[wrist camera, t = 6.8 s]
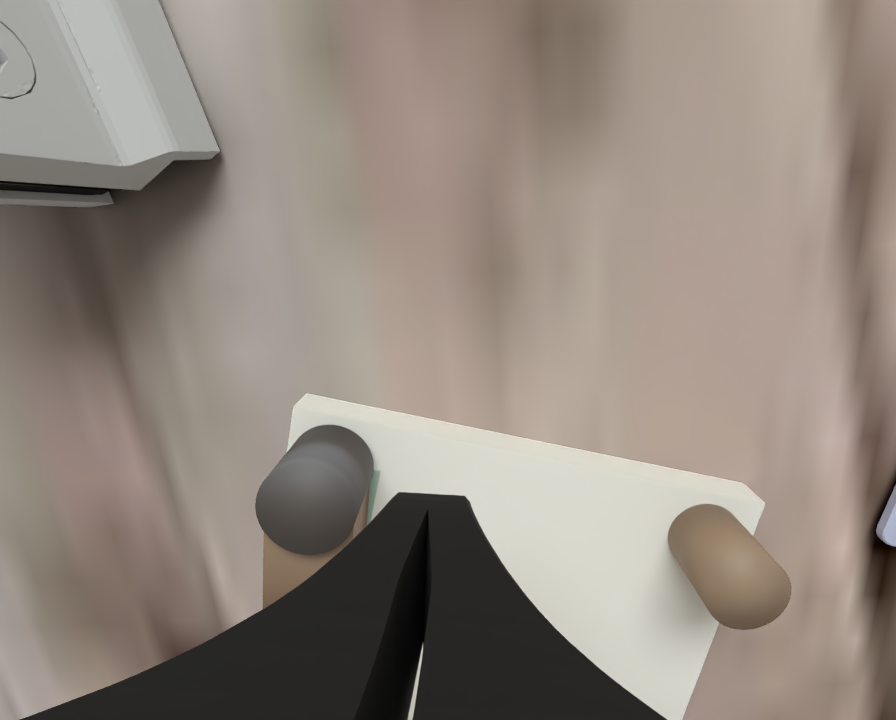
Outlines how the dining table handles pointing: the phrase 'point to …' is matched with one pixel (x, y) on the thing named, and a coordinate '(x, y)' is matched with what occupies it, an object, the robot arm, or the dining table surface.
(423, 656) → the robot arm
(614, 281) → the dining table surface
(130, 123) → the hinge
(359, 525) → the hammer
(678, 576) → the stool seat
